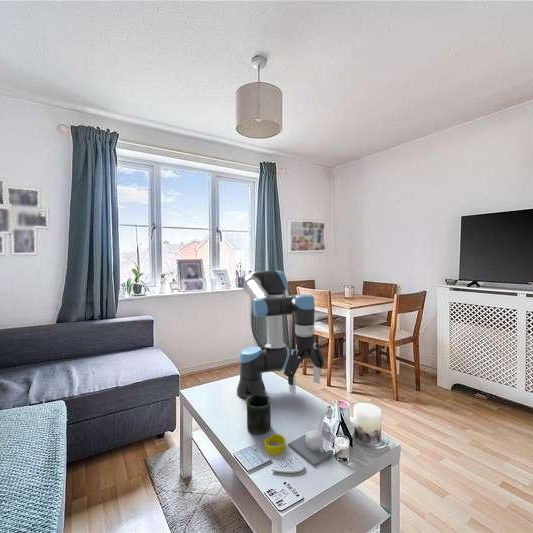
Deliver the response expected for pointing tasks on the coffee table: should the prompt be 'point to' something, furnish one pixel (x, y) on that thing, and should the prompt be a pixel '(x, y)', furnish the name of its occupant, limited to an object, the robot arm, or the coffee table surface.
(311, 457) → the plate
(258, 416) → the mug
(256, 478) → the coffee table surface
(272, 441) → the bracelet
